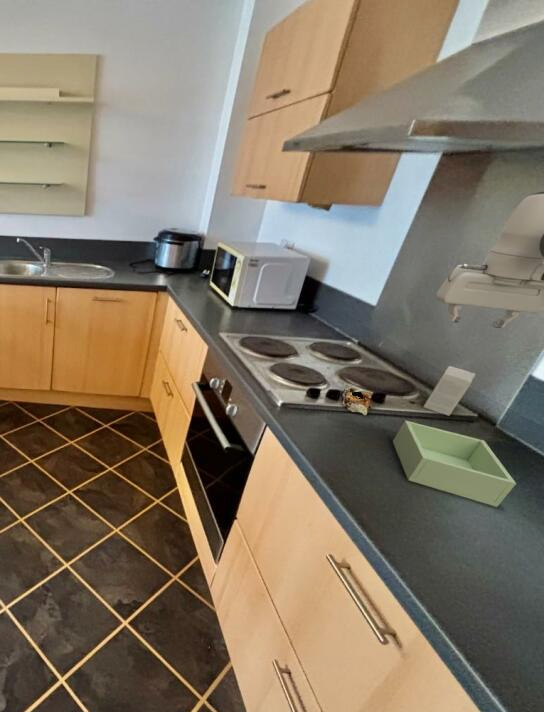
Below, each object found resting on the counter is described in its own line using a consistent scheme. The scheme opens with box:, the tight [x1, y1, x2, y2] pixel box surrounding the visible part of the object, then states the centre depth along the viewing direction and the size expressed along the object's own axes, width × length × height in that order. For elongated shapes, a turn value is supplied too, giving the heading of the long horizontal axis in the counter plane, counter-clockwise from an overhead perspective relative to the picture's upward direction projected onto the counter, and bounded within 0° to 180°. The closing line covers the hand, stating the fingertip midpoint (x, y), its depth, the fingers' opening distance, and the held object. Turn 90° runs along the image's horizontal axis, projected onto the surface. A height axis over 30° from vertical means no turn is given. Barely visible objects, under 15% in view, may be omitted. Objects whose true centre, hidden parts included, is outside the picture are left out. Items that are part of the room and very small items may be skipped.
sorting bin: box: [392, 420, 517, 508], centre depth 85 cm, size 14×16×6 cm
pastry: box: [339, 385, 373, 416], centre depth 109 cm, size 7×12×4 cm, turn 154°
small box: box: [422, 365, 477, 417], centre depth 109 cm, size 8×6×10 cm
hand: (474, 324), depth 101 cm, fingers open, 8 cm apart
